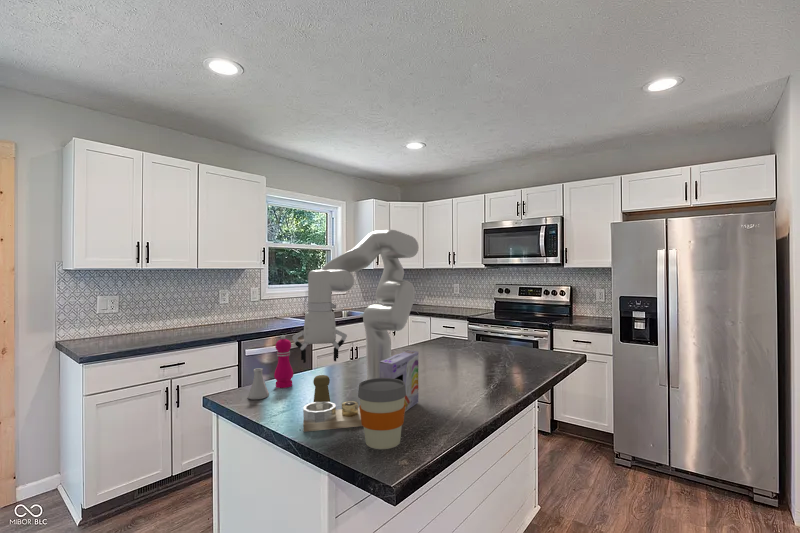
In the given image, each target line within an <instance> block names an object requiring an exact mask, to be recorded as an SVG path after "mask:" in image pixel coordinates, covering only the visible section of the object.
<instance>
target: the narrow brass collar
mask: <svg viewBox="0 0 800 533" xmlns="http://www.w3.org/2000/svg"><path fill="white" fill-rule="evenodd" d="M358 408H359V403H358V402H357V401H355V400H354V401H345V402H342V403H341V409H342V416H345V417H353V416H356V415H358Z"/></svg>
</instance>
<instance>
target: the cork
mask: <svg viewBox="0 0 800 533" xmlns="http://www.w3.org/2000/svg"><path fill="white" fill-rule="evenodd" d="M330 381H331V379H330V377H329V375H325V374H321V375H320V374H319V375H316V376H314V378H313V381H312V383H313V386H314V396H313V402H322V401H325V402H331V396H330V389H329V385H330Z"/></svg>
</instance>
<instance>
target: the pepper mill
mask: <svg viewBox="0 0 800 533" xmlns="http://www.w3.org/2000/svg"><path fill="white" fill-rule="evenodd" d="M291 348H292V342H291V341H290V339H287V338H286V335H284V334H282V335H281V336H280V339H279V340H277V341H276V343H275V349H276V356H277V358H278V359H277V365H276V368H275V370H274V375H273V377H274V379H275V380H276V382H275V387H276V388H277V389H285V388H286V389H287V388H290V387H292V386H293V377H294V371H293V367H292V365H291V363H290V355H291V351H290V350H291Z"/></svg>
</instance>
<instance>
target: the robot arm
mask: <svg viewBox="0 0 800 533" xmlns="http://www.w3.org/2000/svg"><path fill="white" fill-rule="evenodd" d="M418 252H419V243H418V240H417V239H416V238H415V237H414V236H412V235H409V234H407V233H404V232H401V231H400V230H396V229H381V230H374V231H371V232H369V233H368V234H367V235H366V236H365V237H364V238H363V239H362V240H361V241H359V242H358V243H357V244H356V245H355V246H354V247H353V248H352V249H350V250H348V251H346V252H344V253H342V254H340V255H338V256H337V257H333V259H331V260H329V261H328V262H327V263H325V264H324V265H323V266H322V268H320V269H315V270H313V269H312V270H310V271H309V272H308V276H307V277H308V278H307V279H308V280H307V281H308V282H307V283H308V284H307V285H308V286H307V288H308V289H307V291H308V292H307V297H308V298H307V307H308V308H307V310H308V311H307V312H305V316H304V323H303V324H304V326H303V330H301V331H299V332H297V333H296V334H294V335H292V337H291V338H292V340H293V342H294V344H295V346H296V347H298V349H300V351H301V352H300V360H301V361H303V364H305V363H307V362H306V361H307V352H306V351H307V349H306V348H307V346H308V345H320V344H321V345H323V344H327V345H328V344H332V345H333V362H337V359H339V349H340V348H341V347H342V345H343V344H344V343H345V341H346V339H347V337H348V334H347V333H344V332H342V331H340V330H338V329H337V327H336V315H335V312H334V311H333V310H334V309H337V304H336V303H333V301H332V300H333V299H332V297H333V295H332V294H333V292H335V293H345V292H348V291H350V290H351V289H352V288H353V287H354V283H355V277H354V275H353V273H354V272H359V271H362V270H364V269H366V268H367V267H369V266H370V265H371V264H372V263H373V262H374V261H375V260H376V259H377V258H378V257H379V255H380V256H381V259H382V262H383V271H382V273H381V277H380V279H379V282H378V284H377V287H376V291H375V299H376V301H377V302H378V304H377V303H376V304H371V305H368V306H367V307H365V309H364V311H363V315H362V319H363V326H364V331H365V346H366V347H365V349H366V350H365V351H366V357H365V358H366V380H369V379H375V378H380V361H383V360H385V359H388V358H390V357H391V356H392V342H391V341H392V340H391V337H390V334H389V331H390V332H398V331H402V330H404V328H405V327H406V325H407V323H408V320H409V318H410V314H411V310H412V308H413V304H414V301H415V296H416V295H415V294H416V290H415V286H414V284H413V283H412V282H410V281H409V280H406V279H405V280H404V276H405V270H404V268H403V265H402V264H401V262H400V259H410V258H414V257H415V256H417V254H418ZM379 303H381V304H379ZM337 335H338V336H340V337H341V338H340V340H339V341H336V339H337ZM302 336H303V343H301V342H300V340H299V338H300V337H302Z"/></svg>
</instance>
